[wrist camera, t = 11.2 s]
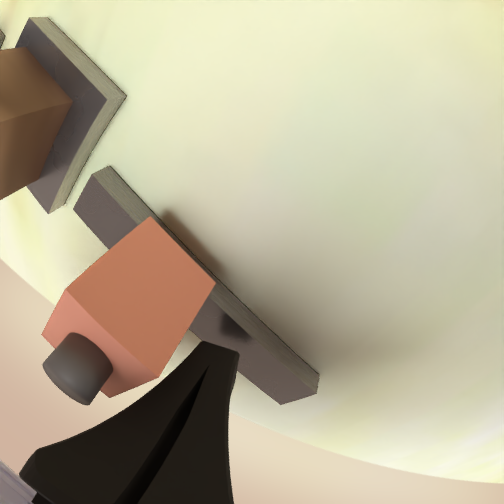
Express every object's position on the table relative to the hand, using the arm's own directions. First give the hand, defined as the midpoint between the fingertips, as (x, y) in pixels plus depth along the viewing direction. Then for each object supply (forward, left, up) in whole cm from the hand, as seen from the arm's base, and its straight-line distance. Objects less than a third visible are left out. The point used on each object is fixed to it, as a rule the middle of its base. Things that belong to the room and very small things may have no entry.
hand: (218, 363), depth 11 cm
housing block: (+12, -1, -1) cm, 12 cm away
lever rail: (+2, 0, -2) cm, 3 cm away
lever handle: (+4, 0, -1) cm, 4 cm away
